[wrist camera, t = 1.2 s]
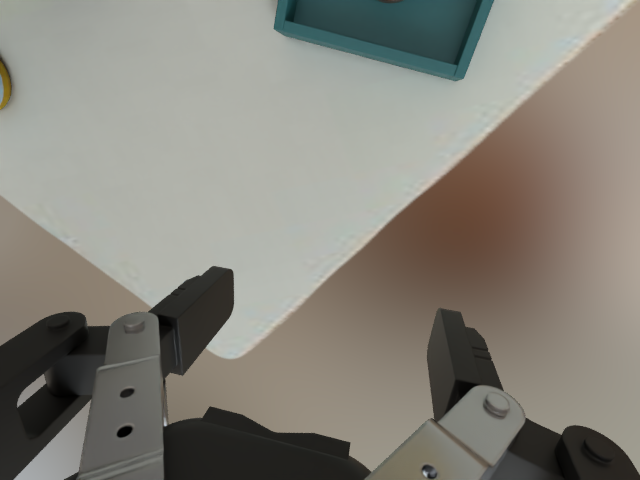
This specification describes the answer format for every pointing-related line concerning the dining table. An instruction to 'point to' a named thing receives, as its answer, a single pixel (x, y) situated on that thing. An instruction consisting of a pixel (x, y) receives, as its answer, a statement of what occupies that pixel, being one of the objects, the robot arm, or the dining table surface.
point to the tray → (392, 30)
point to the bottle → (4, 86)
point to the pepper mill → (390, 1)
